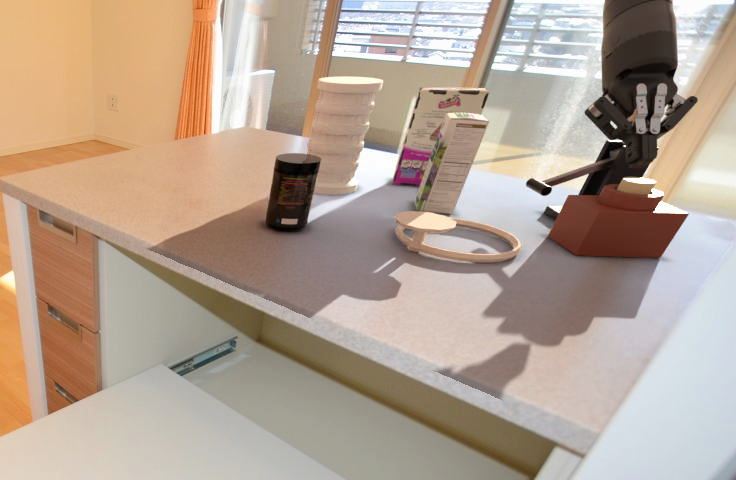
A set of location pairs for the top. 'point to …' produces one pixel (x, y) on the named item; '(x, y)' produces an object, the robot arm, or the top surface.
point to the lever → (570, 175)
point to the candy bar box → (432, 127)
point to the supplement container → (292, 191)
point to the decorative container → (341, 130)
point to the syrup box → (450, 162)
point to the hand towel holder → (440, 223)
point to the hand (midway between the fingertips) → (641, 164)
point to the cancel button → (636, 185)
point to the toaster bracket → (604, 174)
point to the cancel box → (617, 224)
